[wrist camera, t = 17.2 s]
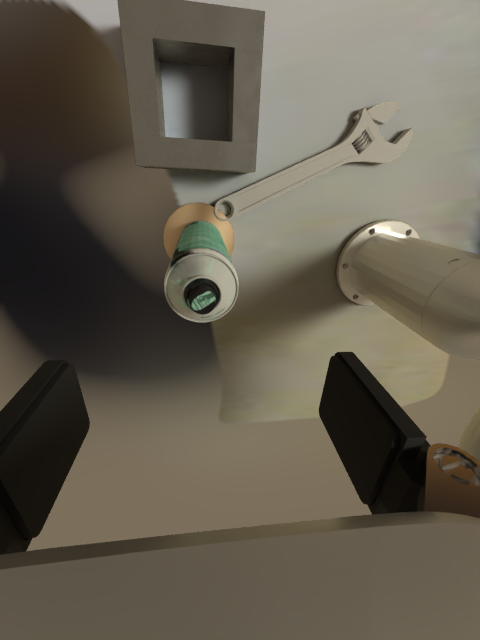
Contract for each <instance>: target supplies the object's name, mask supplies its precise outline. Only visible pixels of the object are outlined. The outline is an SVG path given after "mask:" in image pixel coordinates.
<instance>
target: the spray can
mask: <svg viewBox="0 0 480 640" xmlns="http://www.w3.org/2000/svg"><path fill="white" fill-rule="evenodd" d="M164 288H165V295H166V299H167V301H168V303H169V305H170V307H171V308H172V309H173V310H174V311H175V312H176V313H177V314H178V315H179V316H181V317H183V318H185V319H187V320H190V321H193V322H211V321H214V320H217V319H219V318H221V317H223V316H224V315H225V314H227V313H228V312H229V311H230V310H231V308H232V307H233V306H234V304H235V302H236V299H237V295H238V277H237V274H236V271H235V269H234V266H233V264H232V261H231V259H230V256H229V253H228V251H227V248H226V246H225V243H224V241H223V238H222V236H221V233H220V232H219V230H218V229H217V228H216V227H215V226H214V225H213V224H212V223H210V222H208V221H204V220H197V221H193V222H191V223H189V224H188V225H186V227H185V228H184V229H183V230H182V232H181V235H180V237H179V240H178V243H177V245H176V248H175V250H174V253H173V256H172V258H171V261H170V264H169V266H168V269H167V272H166V275H165V280H164Z"/></svg>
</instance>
